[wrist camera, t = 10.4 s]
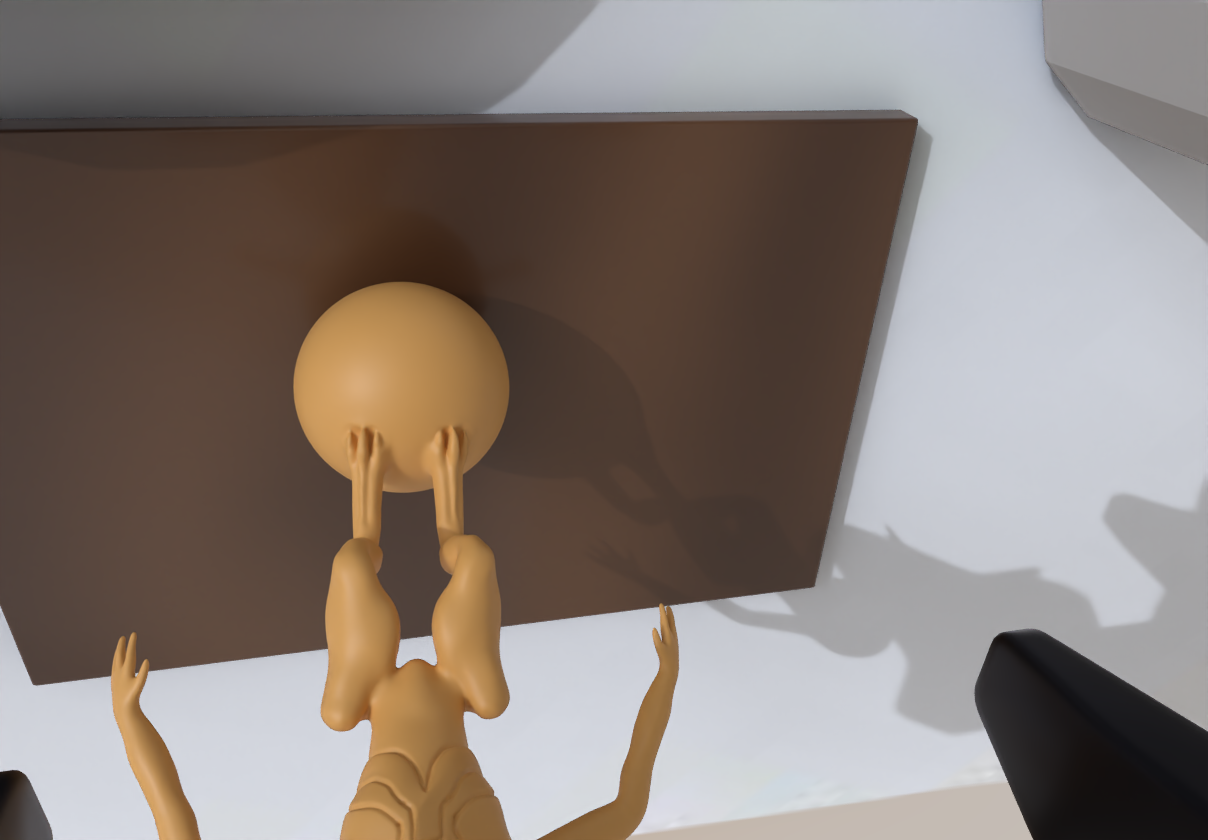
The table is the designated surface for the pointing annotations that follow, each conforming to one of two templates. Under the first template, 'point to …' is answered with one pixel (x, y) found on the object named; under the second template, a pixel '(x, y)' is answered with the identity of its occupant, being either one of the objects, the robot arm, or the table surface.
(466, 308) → the figurine
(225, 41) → the table surface
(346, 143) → the walnut board
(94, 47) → the table surface
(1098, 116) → the water bottle
